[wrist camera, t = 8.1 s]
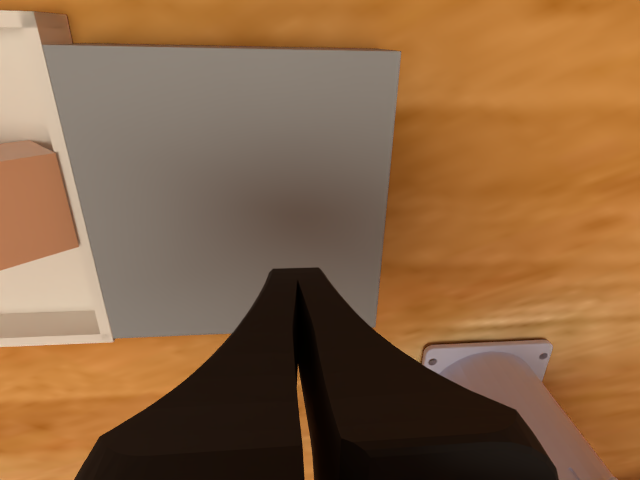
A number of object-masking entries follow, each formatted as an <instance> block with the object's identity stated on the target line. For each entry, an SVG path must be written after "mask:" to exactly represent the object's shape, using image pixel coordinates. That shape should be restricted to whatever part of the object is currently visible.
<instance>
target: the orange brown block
mask: <svg viewBox="0 0 640 480" xmlns="http://www.w3.org/2000/svg"><path fill="white" fill-rule="evenodd" d="M77 247H79V245H78V241H77V237H76V233H75V229H74V225H73V221H72V217H71V213H70V209H69V205H68V201H67V197H66V193H65V189H64V185H63V181H62V177H61V173H60V169H59V165H58V161H57V157H56V153H55V152H53V151H51V150H49V149H47V148H45V147H43V146H40V145H38V144H36V143H34V142H32V141H30V140H25V141H17V142H10V143H2V144H0V271H1V270H4V269H7V268H11V267H14V266H17V265H21V264H24V263H27V262H30V261H34V260H37V259H40V258H44V257H47V256H50V255H54V254H57V253H60V252H64V251H67V250H70V249H74V248H77Z"/></svg>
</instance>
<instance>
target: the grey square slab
mask: <svg viewBox="0 0 640 480" xmlns="http://www.w3.org/2000/svg"><path fill="white" fill-rule="evenodd" d="M42 46H43V50H44V54H45V58H46V63H47V67H48V71H49V75H50V79H51V83H52V87H53V92H54V96H55V100H56V104H57V108H58V112H59V116H60V121H61V125H62V129H63V133H64V137H65V141H66V145H67V150H68V154H69V158H70V162H71V166H72V170H73V174H74V178H75V183H76V187H77V191H78V195H79V199H80V203H81V207H82V212H83V216H84V220H85V224H86V228H87V232H88V236H89V241H90V245H91V249H92V253H93V257H94V261H95V265H96V269H97V274H98V278H99V282H100V286H101V290H102V294H103V298H104V303H105V307H106V311H107V315H108V319H109V323H110V327H111V332H112V336H113V338H134V337H158V336H181V335H205V334H229V333H233V332H234V330H235V329H236V328H237V326H238V325H239V324H240V322H241V321H242V320H243V318H244V317H245V315H246V314H247V313H248V311H249V310H250V308H251V307H252V305H253V303H254V302H255V300H256V298H257V297H258V295H259V293H260V292H261V290H262V288H263V286H264V284H265V282H266V279H267V277H268V274H269V272H270V271H271V270H272V269H278V268H313V267H319V268H320V269H321V270H322V271H323V273H324V274H325V275H326V277H327V278H328V280H329V281H330V282H331V284H332V285H333V286H334V288H335V289H336V290H337V291H338V293H339V294H340V295H341V296H342V297H343V299H344V300H345V301H346V302H347V303H348V304H349V305H350V306H351V308H352V309H353V310H354V311H355V312H356V313H357V314H358V315H359V316H360V317H361V318H362V319H363V320H364V321H365V322H366V323H367V324H368V325H369V326H370V327H375V325H376V314H377V304H378V293H379V282H380V272H381V261H382V250H383V240H384V229H385V218H386V208H387V197H388V186H389V176H390V165H391V154H392V144H393V133H394V123H395V112H396V101H397V91H398V80H399V69H400V59H401V51H393V50H385V49H363V48H311V47H258V46H206V45H154V44H102V43H78V44H51V45H42Z"/></svg>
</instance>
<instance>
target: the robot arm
mask: <svg viewBox="0 0 640 480" xmlns="http://www.w3.org/2000/svg"><path fill="white" fill-rule="evenodd" d="M552 350H553V346H552V344H551V343H550V342H549V341H548V340H526V341H505V342H484V343H462V344H441V345H430V346H428V347H426V349H425V350H424V354H423V360H422V364H421V363H419V362H417V361H416V360H414V359H413V358H411V357H410V356H408V355H406V354H405V353H404V352H402V351H401V350H399V349H398V348H396V347H395V346H394V345H392V344H391V343H390V342H388V341H387V340H386V339H385V338H383V337H382V336H381V335H380V334H378V333H377V332H376V331H375V330H374V329H372V328H371V327H370V326H369V325H368V324H367V323H366V322H365V321H364V320H363V319H362V318H361V317H360V316H359V315H358V314H357V313H356V312H355V311H354V310H353V309H352V308H351V306H350V305H349V304H348V303H347V302H346V301H345V300H344V299H343V297H342V296H341V295H340V294H339V293H338V291H337V290H336V289H335V288H334V286H333V285H332V284H331V282H330V281H329V280H328V278H327V277H326V275H325V274H324V273H323V271H322V270H321V269H320V268H319V267H313V268H278V269H272V270H271V271H270V272H269V274H268V277H267V279H266V282H265V284H264V286H263V288H262V290H261V292H260V293H259V295H258V297H257V298H256V300H255V302H254V303H253V305H252V307H251V308H250V310H249V311H248V313H247V314H246V315H245V317H244V318H243V320H242V321H241V322H240V324H239V325H238V326H237V328H236V329H235V330H234V332H233V333H232V334H231V335H230V336H229V338H228V339H227V340H226V341H225V342H224V343H223V344H222V346H221V347H220V348H219V349H218V350H217V351H216V352H215V353H214V354H213V355H212V356H211V357H210V358H209V359H208V360H207V361H206V362H205V363H204V364H203V365H202V366H201V367H200V368H198V369H197V370H196V371H195V372H194V373H193V374H192V375H191V376H190V377H188V378H187V379H186V380H185V381H184V382H182V383H181V384H180V385H178V386H177V387H176V388H175V389H173V390H172V391H171V392H169V393H168V394H166V395H165V396H164V397H162V398H161V399H159V400H158V401H157V402H155V403H154V404H152V405H151V406H149V407H148V408H146V409H145V410H143V411H141V412H140V413H138V414H137V415H135V416H133V417H132V418H130V419H128V420H127V421H125V422H123V423H122V424H120V425H119V426H117V427H115V428H114V429H112V430H110V431H109V432H107V433H105V434H103V435H102V436H100V437H99V439H98V440H97V442H96V444H95V445H94V447H93V449H92V450H91V452H90V454H89V456H88V457H87V459H86V460H85V462H84V463H83V465H82V467H81V469H80V470H79V472H78V474H77V476H76V477H75V479H74V480H304V464H303V448H302V438H301V429H300V419H299V409H298V398H297V371H298V366H299V372H300V379H301V385H302V391H303V397H304V403H305V408H306V414H307V420H308V426H309V432H310V439H311V447H312V455H313V469H314V480H618V479H617V478H616V477H614V476H613V475H612V473H611V472H610V471H609V470H608V468H607V467H606V466H605V464H604V463H603V462H602V460H601V459H600V458H599V456H598V455H597V454H596V453H595V451H594V450H593V449H592V447H591V446H590V445H589V443H588V442H587V441H586V439H585V438H584V437H583V436H582V434H581V433H580V432H579V430H578V429H577V428H576V426H575V425H574V424H573V422H572V421H571V420H570V419H569V417H568V416H567V415H566V413H565V412H564V411H563V409H562V408H561V407H560V405H559V404H558V403H557V402H556V400H555V399H554V398H553V396H552V395H551V394H550V392H549V391H548V390H547V389H546V387H545V386H544V385H543V383H542V380H543V377H544V374H545V371H546V368H547V365H548V362H549V359H550V356H551V353H552ZM542 353H543V354H542ZM433 358H434V359H433ZM430 359H433V360H431V361H429V360H430Z"/></svg>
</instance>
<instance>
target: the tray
mask: <svg viewBox="0 0 640 480" xmlns="http://www.w3.org/2000/svg"><path fill="white" fill-rule="evenodd" d="M51 44H73V43H72V38H71V33H70V28H69V24H68V19H67V15H65V14H55V13H45V12H36V11H3V10H0V144H2V143H10V142H17V141H25V140H30V141H32V142H34V143H36V144H38V145H40V146H43V147H45V148H47V149H49V150H51V151H53V152H55V153H56V157H57V161H58V165H59V169H60V173H61V177H62V181H63V185H64V189H65V193H66V197H67V201H68V205H69V209H70V213H71V217H72V221H73V225H74V229H75V233H76V237H77V241H78V245H79V247H77V248H74V249H70V250H67V251H64V252H60V253H57V254H54V255H50V256H47V257H44V258H40V259H37V260H34V261H30V262H27V263H24V264H21V265H17V266H14V267H11V268H7V269H4V270H1V271H0V347H11V346H35V345H58V344H81V343H104V342H114V340H115V338H113V336H112V332H111V327H110V323H109V319H108V315H107V311H106V307H105V303H104V298H103V294H102V290H101V286H100V282H99V278H98V274H97V269H96V265H95V261H94V257H93V253H92V249H91V245H90V241H89V236H88V232H87V228H86V224H85V220H84V216H83V212H82V207H81V203H80V199H79V195H78V191H77V187H76V183H75V178H74V174H73V170H72V166H71V162H70V158H69V154H68V150H67V145H66V141H65V137H64V133H63V129H62V125H61V121H60V116H59V112H58V108H57V104H56V100H55V96H54V92H53V87H52V83H51V79H50V75H49V71H48V67H47V63H46V58H45V54H44V50H43V46H42V45H51Z"/></svg>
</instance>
